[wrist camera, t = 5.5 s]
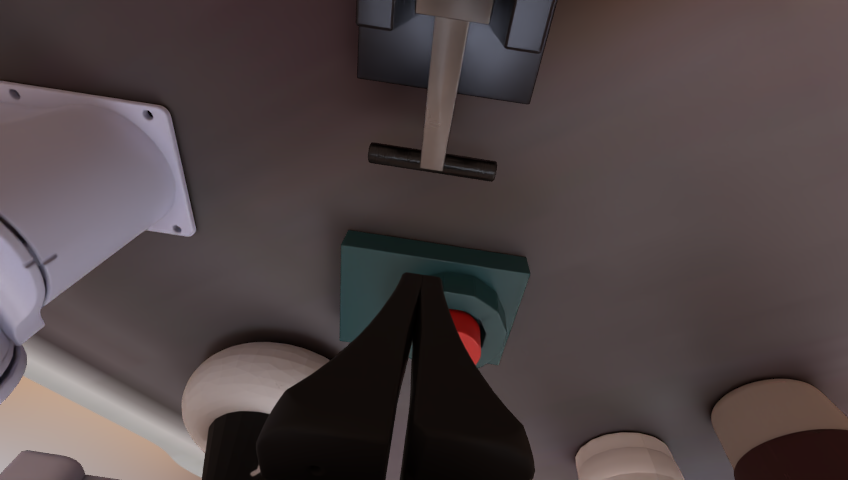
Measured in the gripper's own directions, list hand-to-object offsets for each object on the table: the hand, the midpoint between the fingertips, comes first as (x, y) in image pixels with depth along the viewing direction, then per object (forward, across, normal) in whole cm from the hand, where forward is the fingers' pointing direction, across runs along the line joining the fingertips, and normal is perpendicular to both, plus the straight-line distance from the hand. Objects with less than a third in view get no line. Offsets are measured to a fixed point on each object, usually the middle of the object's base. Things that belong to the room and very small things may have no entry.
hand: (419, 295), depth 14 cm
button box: (+9, -1, +8) cm, 12 cm away
